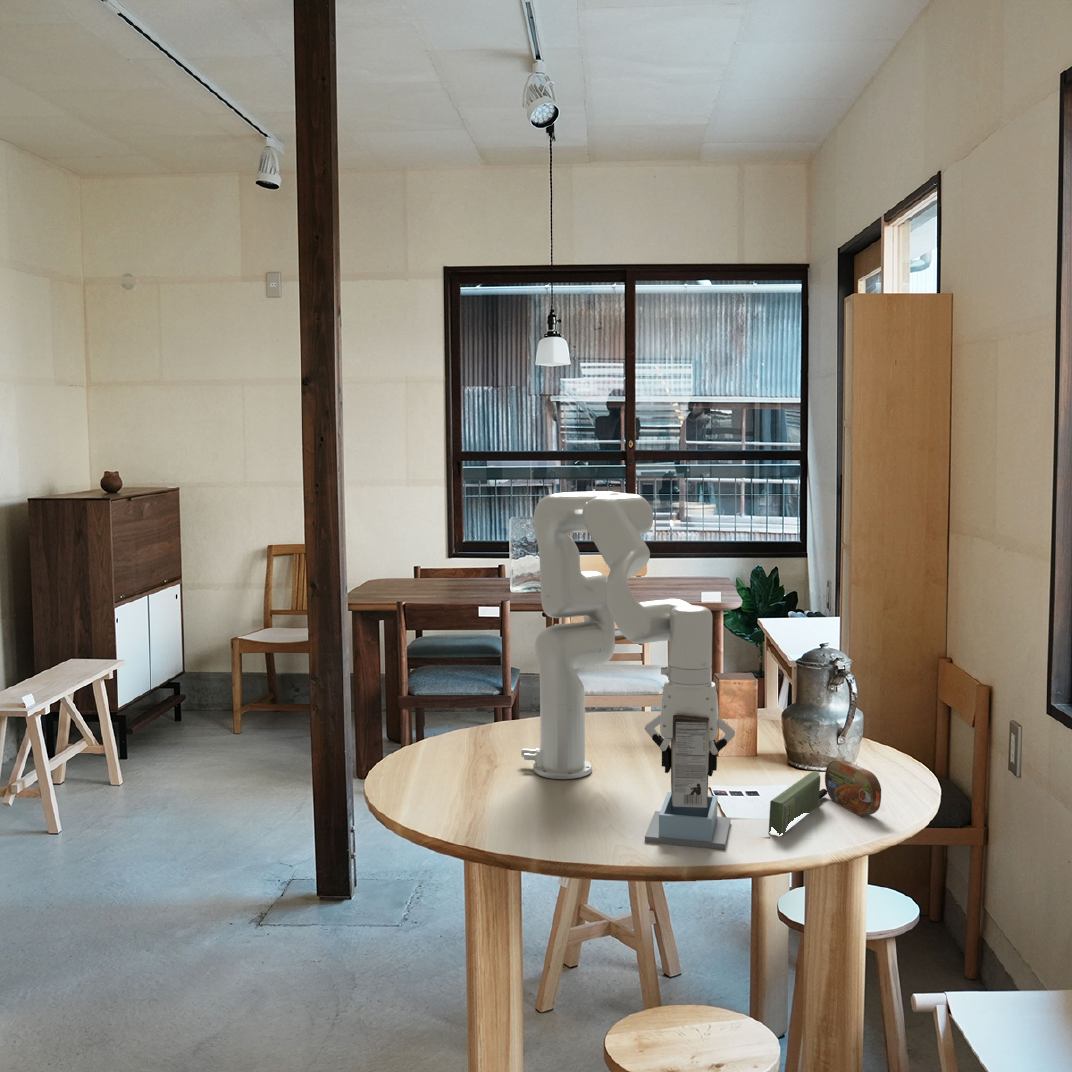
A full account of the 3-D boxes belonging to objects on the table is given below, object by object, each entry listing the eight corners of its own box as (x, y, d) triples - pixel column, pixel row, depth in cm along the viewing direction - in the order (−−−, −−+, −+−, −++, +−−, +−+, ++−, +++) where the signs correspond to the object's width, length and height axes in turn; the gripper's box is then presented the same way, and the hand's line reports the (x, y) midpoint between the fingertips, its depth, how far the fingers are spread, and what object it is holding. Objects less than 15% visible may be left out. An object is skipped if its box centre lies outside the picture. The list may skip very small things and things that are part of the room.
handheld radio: (765, 834, 188) (815, 796, 209) (782, 839, 186) (831, 799, 207) (767, 799, 187) (817, 763, 208) (784, 803, 186) (833, 767, 206)
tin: (823, 796, 208) (824, 754, 207) (836, 794, 209) (837, 753, 208) (869, 822, 194) (870, 778, 193) (883, 820, 195) (885, 776, 194)
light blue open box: (644, 841, 184) (644, 814, 184) (655, 816, 197) (655, 790, 196) (725, 849, 181) (725, 821, 180) (730, 822, 193) (730, 796, 193)
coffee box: (669, 789, 193) (670, 704, 192) (705, 790, 193) (706, 705, 191) (671, 807, 184) (672, 717, 183) (708, 808, 184) (709, 718, 182)
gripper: (638, 677, 185) (637, 775, 187) (738, 682, 180) (736, 783, 182) (644, 668, 192) (644, 762, 194) (741, 673, 188) (739, 769, 189)
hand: (689, 771), depth 188 cm, fingers closed on coffee box, 7 cm apart
